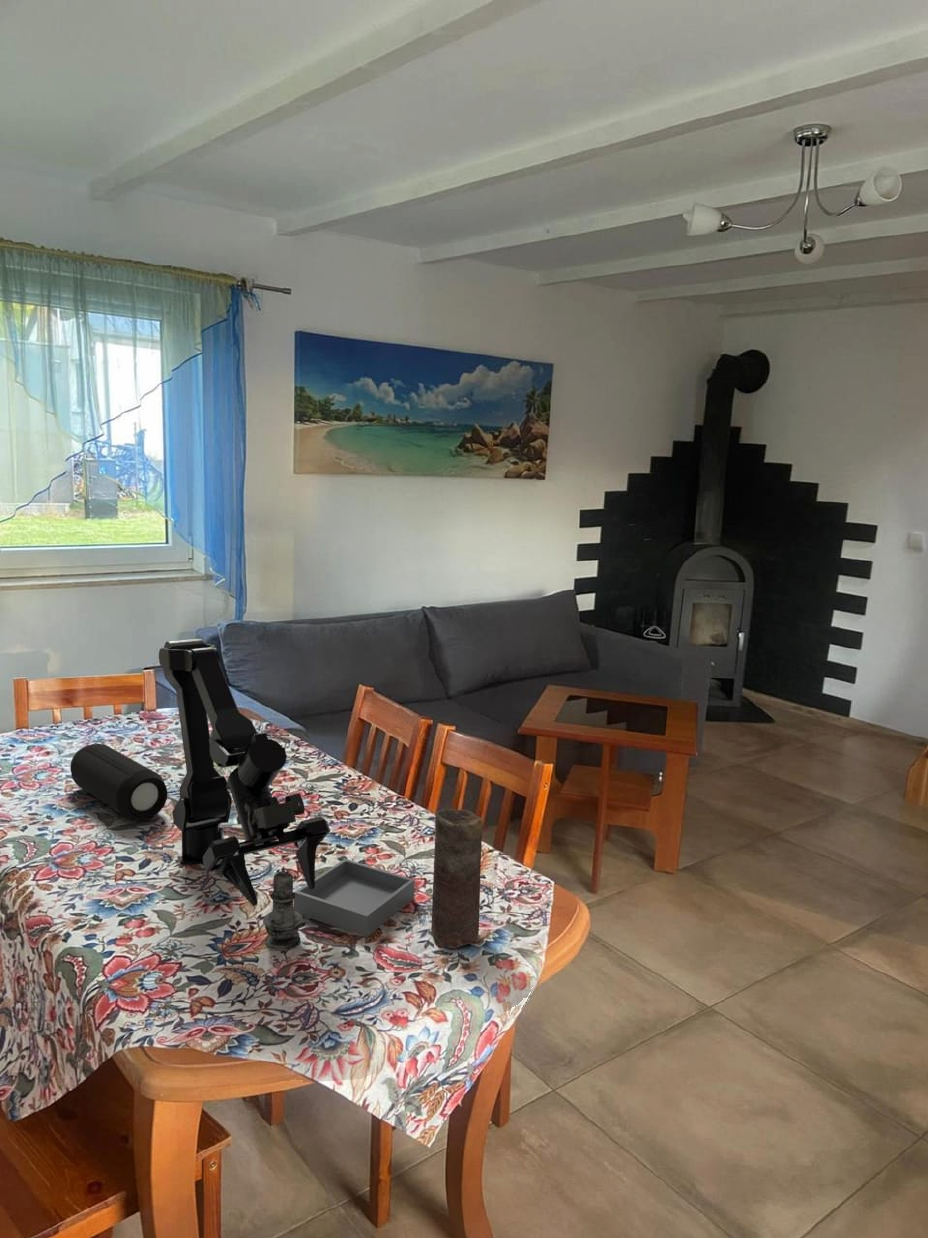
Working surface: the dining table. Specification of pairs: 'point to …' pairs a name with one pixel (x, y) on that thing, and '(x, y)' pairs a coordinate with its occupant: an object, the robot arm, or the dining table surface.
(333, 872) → the tray
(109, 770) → the portable speaker
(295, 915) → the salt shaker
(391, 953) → the dining table surface
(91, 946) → the dining table surface
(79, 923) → the dining table surface
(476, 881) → the candle
